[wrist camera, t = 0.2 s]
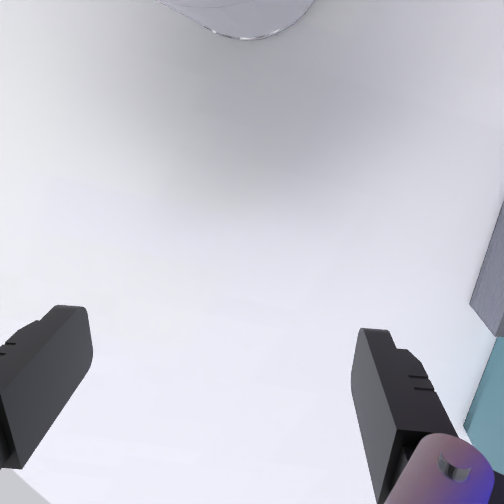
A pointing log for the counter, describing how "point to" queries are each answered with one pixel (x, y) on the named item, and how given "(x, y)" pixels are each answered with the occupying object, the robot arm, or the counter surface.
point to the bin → (489, 411)
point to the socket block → (492, 283)
